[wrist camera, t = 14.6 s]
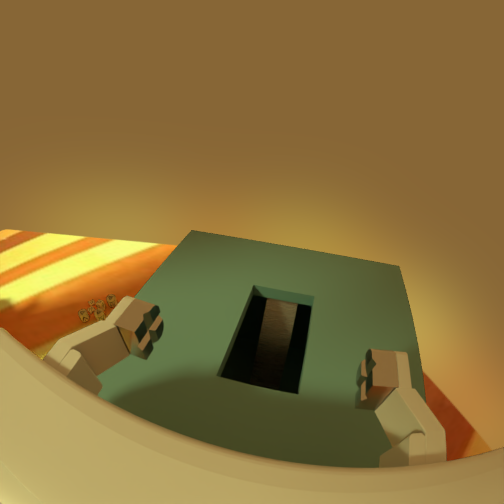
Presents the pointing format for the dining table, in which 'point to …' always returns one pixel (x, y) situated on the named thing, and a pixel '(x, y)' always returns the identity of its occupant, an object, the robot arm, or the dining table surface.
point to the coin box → (245, 346)
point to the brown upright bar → (273, 343)
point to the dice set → (100, 311)
